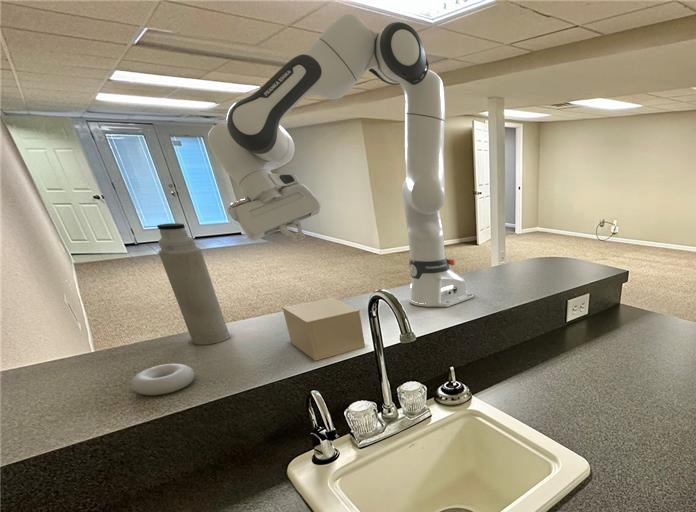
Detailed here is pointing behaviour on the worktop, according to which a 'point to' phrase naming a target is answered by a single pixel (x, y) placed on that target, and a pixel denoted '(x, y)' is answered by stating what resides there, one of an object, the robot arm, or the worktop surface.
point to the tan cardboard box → (324, 327)
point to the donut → (162, 379)
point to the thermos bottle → (191, 285)
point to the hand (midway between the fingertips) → (300, 239)
